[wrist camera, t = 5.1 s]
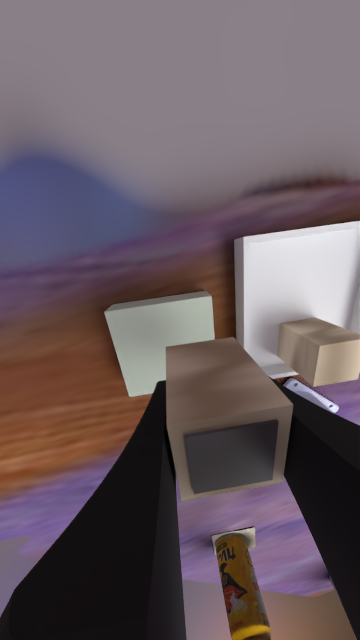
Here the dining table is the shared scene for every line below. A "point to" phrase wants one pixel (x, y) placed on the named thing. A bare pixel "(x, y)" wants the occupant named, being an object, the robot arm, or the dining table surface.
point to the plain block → (319, 351)
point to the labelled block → (223, 419)
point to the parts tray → (295, 286)
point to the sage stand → (156, 334)
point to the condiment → (241, 586)
